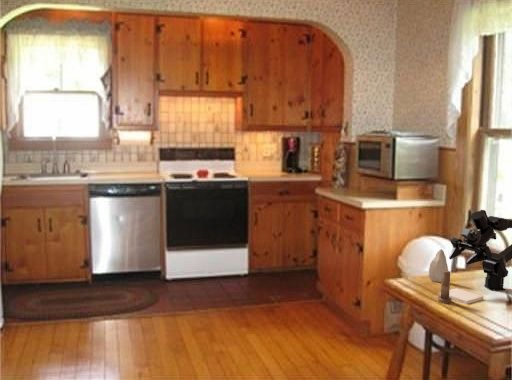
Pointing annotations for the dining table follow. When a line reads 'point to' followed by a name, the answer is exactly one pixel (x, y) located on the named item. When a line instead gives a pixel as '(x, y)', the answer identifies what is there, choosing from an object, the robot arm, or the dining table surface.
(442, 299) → the tamper
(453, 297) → the tile
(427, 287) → the dining table surface
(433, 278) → the stone tool
